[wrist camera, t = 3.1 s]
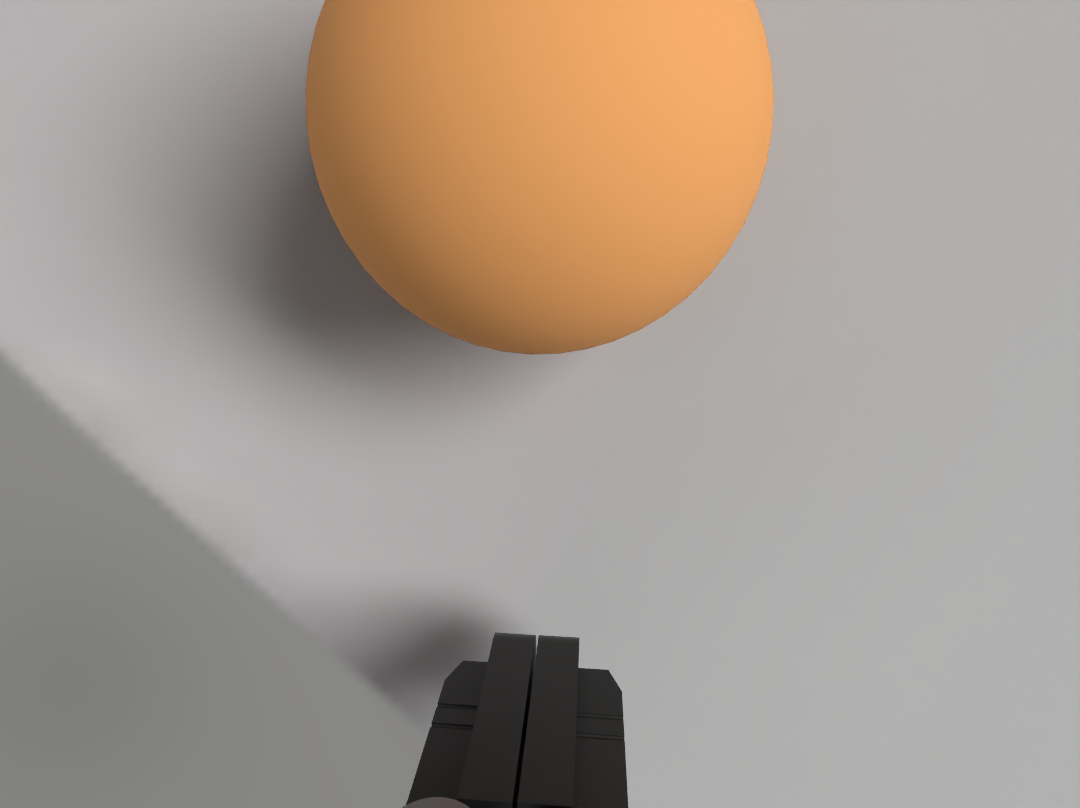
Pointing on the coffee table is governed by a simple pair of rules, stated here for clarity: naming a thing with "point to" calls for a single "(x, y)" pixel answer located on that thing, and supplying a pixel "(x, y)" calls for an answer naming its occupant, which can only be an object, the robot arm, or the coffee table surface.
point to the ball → (539, 156)
